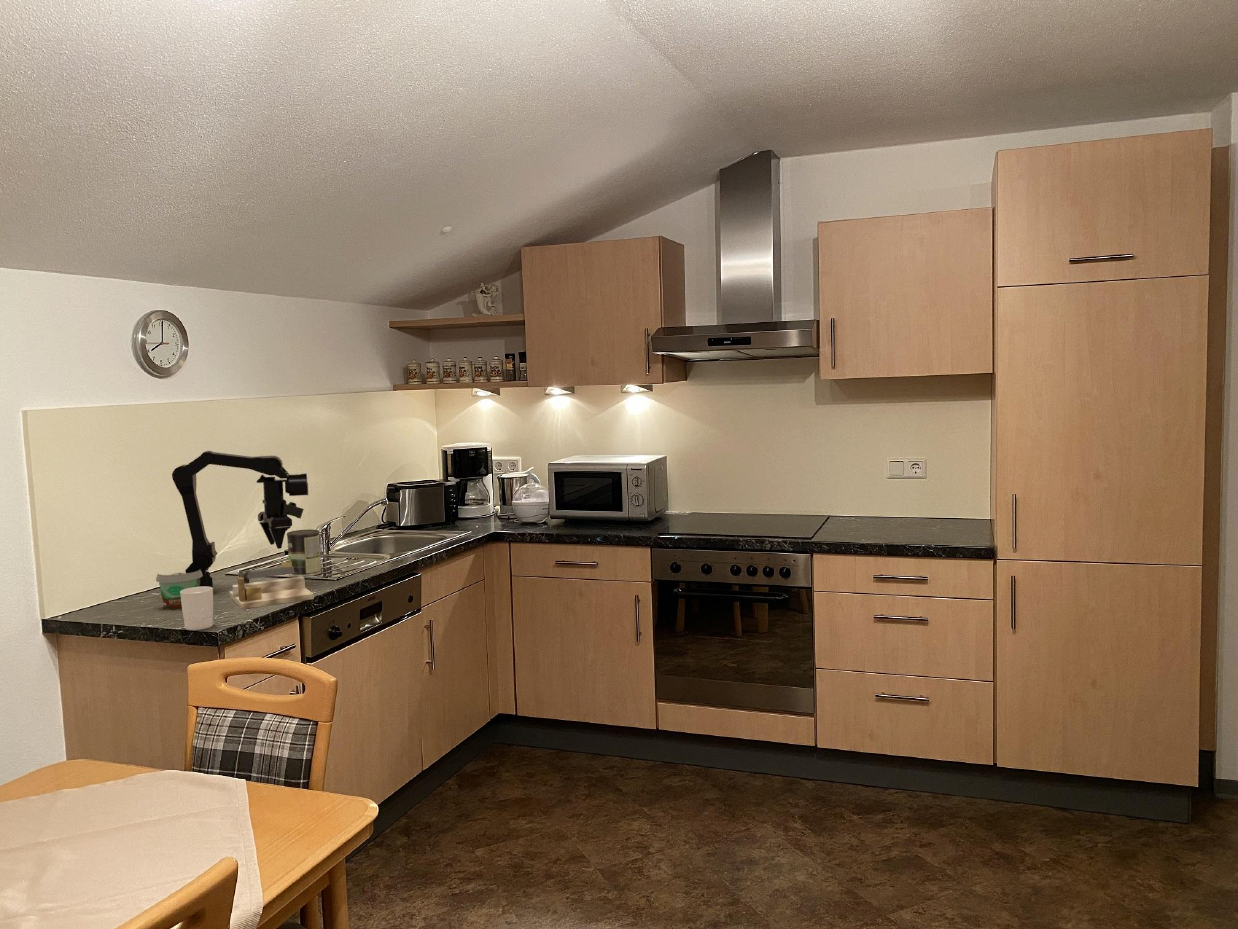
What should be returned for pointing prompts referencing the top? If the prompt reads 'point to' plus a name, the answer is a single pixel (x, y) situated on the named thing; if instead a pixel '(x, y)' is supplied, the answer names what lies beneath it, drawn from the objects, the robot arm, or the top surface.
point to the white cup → (197, 607)
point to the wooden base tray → (269, 592)
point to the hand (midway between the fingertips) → (275, 546)
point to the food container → (176, 587)
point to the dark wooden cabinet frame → (268, 571)
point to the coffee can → (304, 552)
